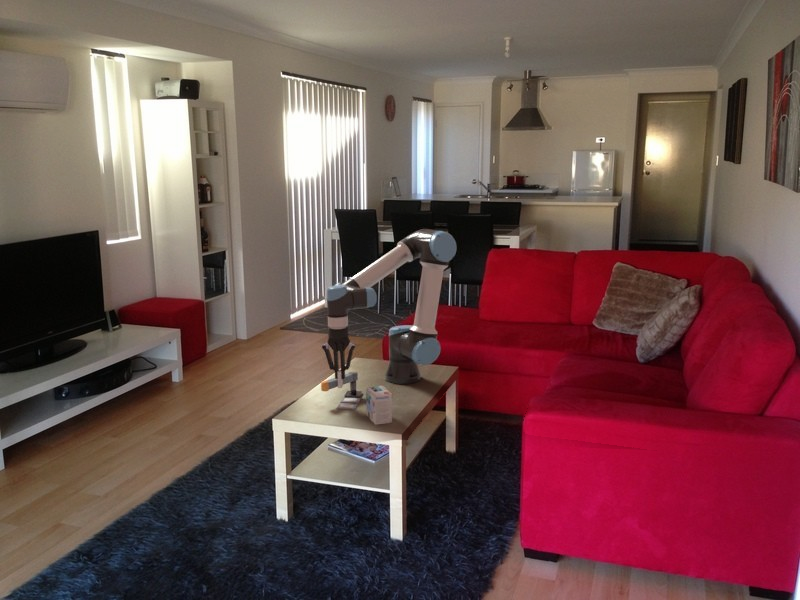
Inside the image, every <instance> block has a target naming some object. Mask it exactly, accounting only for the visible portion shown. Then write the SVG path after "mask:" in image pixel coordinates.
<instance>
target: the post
mask: <svg viewBox="0 0 800 600" xmlns="http://www.w3.org/2000/svg"><path fill="white" fill-rule="evenodd" d="M349 384H350V385H349V388H350V390H347V391H346V393H345V394H344V397H345V398H361V397H362V395H363V391H362V390H357V381H352V382H350V383H349Z"/></svg>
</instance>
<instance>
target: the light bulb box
mask: <svg viewBox="0 0 800 600" xmlns="http://www.w3.org/2000/svg"><path fill="white" fill-rule="evenodd" d="M365 390H366V391H365V392H366V393H365V396H366V397H365V399H366V401H365V403H366V406H365V407H366V408H365V410H366V411H365V413H366V414H365V415H366V416H367V418H368V419H369V420H370V421H371V422H372V423H373V424H374V426H375V425H376V426H377V425H382V424H383V425H384V424H390V423H393V394H392V392H390V391H389V390H388V389H387V388H386V387H385V386H384V385H376V386H369V387H366V388H365Z"/></svg>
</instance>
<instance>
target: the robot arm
mask: <svg viewBox="0 0 800 600" xmlns="http://www.w3.org/2000/svg"><path fill="white" fill-rule="evenodd" d="M457 247H458V246H457V242H456V240H455V238H454V236H453V235H452V234H450V233H449V232H447V231H443V230H436V229H429V228H422V229H419V230H416V231H414V232H412V233H410V234H408V235H407V236H406V237H404V238H403V239H401V240H400V241H398V242H397V244H396V247H394V248H393V249H390V251H388V252H387V253H385V254H384V255H382V256H381V257H380V258H377V260H375V261H374V262H372V263H371V264H369V265H368V266H366V267H365V268H363V269H362V270H361V271H359V272H357V274H355V275H353V276H352V277H350V278H349V279H348V280H346V281H344V282H341V281H340V282H337V283H336V284H334V285H331V286H328V287H327V289H326V303H327V304H326V305H327V326H328V329H327V331H328V332H327V333H328V339H327V342H326V343H323V345H321V348H322V350H323V351H324V354H325V357H326V360H327V364H328V368H329V369H330V370H333V371H334V378H335V379H338V387H337V388H338V389H342V388H343V387H344V385H343V379H344V378H345V374H346V370H347V371H348V370H349V368H350V367H351V362H352V357H353V352H354V350H355V348H356V343H352V342H351V341H350V338H349V327H348V326H349V318H348V313H349V311H350V310H351V311H352V310H358V309H365V308H366V309H369V308H371V307H372V308H373V307H374V306H375V305H376V304H377V300H378V299H377V298H378V297H377V293H376V291H375V289H374V288H373V286H374V285H376V284H377V283H379V282H381V280H383V279H384V278H386V277H387V276H388V275H390V274H391V273H393V272H395V270H398V269H399V268H400V267H401V266H403V265H404V264H406V263H411V262H413V261H414V260H416V259H418V258H419V264H421V266H422V268H421V274H420V275H421V276H420V281H419V282H420V283H419V290H418V295H417V301H416V307H415V308H416V309H415V312H414V313H415V314H414V319H413V320H414V321H413V324H412V325H409V324H408V325H407V324H405V325H404V324H403V325H396V326H391V327H390V328H389V330H388V355H389V356H388V357H389V358H388V359H389V361H388V363H387V367H386V370H385V373H384V375H385V376H384V378H385V379H384V380H385V381H386V382H388V383H392V384H396V385H397V384H399V385H408V384H415V383H416V382H419V381H420V380H421V379H422V378H421V371H420V368H419V365H423V366H428V365H430V364H432V363H434V362H435V361H436V360H437V359H438V358H439V355H440V353H441V344H440V341H439V340H438V339H437V338H438V330H436V327H435V326H436V322H437V316H438V308H439V302H440V296H441V295H440V294H441V290H442V284H443V283H442V281H443V276H444V270H446V269H447V268H448V267H449V263H450V261H451V260H453V258H454V257H455V256H456V252H457ZM330 348H331V350H332V352H333V357H332V355H331V350H330ZM347 348H348V349H349V351H348V355H347V358H345V357H346V355H345V353H346V351H345V350H346V349H347ZM339 354H340V355H339ZM339 356H340V357H339ZM339 359H340V362H339ZM346 359H347V360H346ZM339 363H340V365H339Z"/></svg>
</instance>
